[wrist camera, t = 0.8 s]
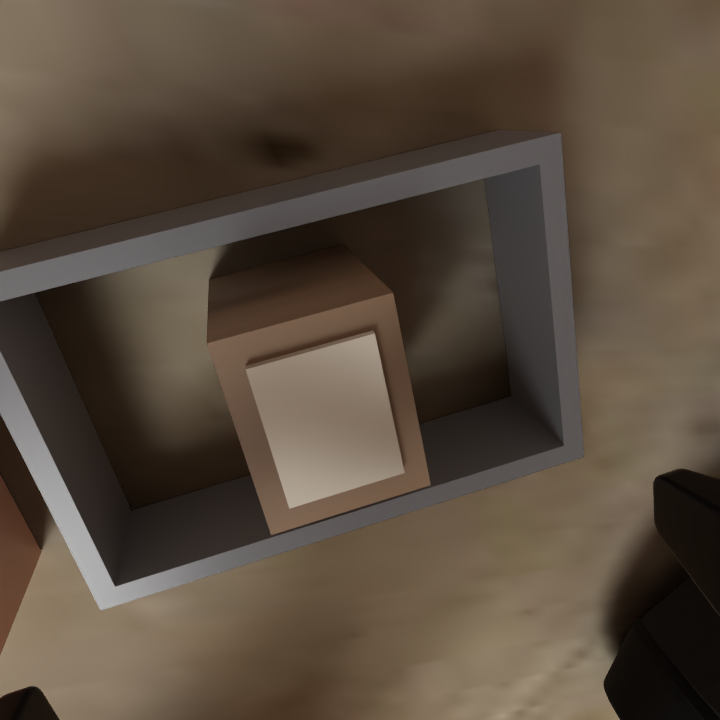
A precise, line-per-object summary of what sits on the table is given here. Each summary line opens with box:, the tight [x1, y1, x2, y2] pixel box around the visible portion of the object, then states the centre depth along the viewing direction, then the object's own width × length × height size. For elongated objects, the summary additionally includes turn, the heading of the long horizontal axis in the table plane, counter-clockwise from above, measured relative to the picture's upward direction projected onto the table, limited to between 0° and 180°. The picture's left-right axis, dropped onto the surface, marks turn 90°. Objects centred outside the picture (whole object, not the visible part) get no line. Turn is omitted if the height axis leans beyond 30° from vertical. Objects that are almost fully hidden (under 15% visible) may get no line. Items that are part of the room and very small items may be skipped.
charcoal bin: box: [0, 130, 584, 610], centre depth 17 cm, size 9×14×4 cm, turn 102°
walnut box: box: [207, 245, 431, 535], centre depth 16 cm, size 5×4×6 cm
